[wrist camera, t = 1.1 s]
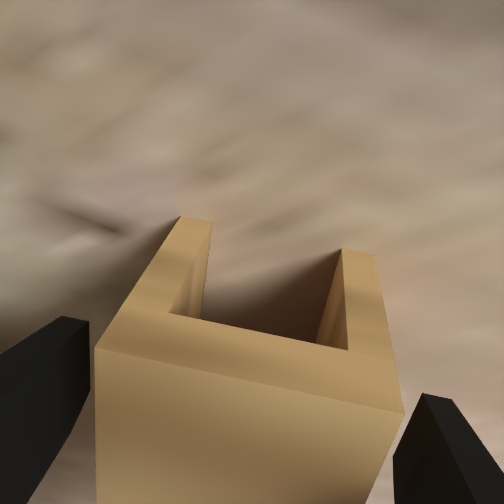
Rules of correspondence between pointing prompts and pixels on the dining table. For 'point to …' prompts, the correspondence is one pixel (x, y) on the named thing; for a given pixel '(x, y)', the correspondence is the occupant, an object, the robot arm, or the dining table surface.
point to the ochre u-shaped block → (241, 393)
